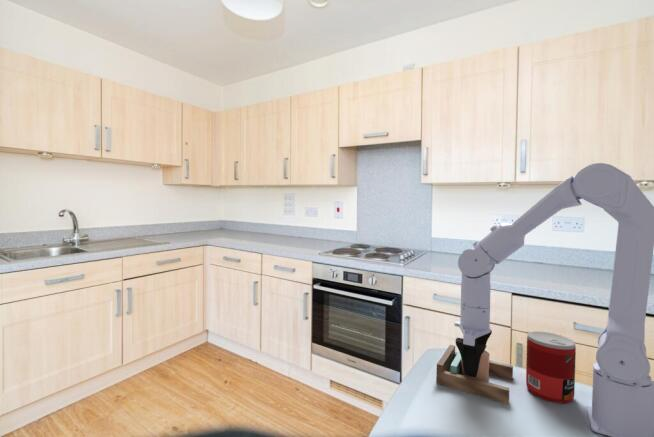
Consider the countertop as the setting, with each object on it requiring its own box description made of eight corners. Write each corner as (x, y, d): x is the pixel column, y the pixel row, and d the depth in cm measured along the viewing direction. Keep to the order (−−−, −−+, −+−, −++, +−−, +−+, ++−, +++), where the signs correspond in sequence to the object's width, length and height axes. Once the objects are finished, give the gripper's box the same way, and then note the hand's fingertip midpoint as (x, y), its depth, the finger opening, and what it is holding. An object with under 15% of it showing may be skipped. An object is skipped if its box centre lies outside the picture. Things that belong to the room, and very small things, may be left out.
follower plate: (464, 367, 75) (464, 351, 75) (456, 384, 67) (456, 366, 67) (458, 365, 75) (459, 350, 75) (450, 382, 68) (450, 365, 68)
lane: (512, 377, 71) (513, 358, 71) (508, 404, 60) (509, 382, 60) (449, 361, 78) (450, 344, 78) (436, 383, 68) (436, 363, 68)
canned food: (574, 409, 59) (576, 349, 59) (523, 394, 64) (525, 338, 64) (574, 391, 65) (575, 337, 65) (527, 379, 70) (529, 328, 70)
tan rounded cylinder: (464, 371, 73) (465, 344, 73) (491, 379, 70) (492, 351, 70) (457, 380, 69) (458, 352, 69) (485, 389, 66) (486, 360, 65)
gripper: (461, 295, 78) (460, 351, 78) (447, 309, 65) (446, 376, 66) (494, 300, 74) (493, 359, 74) (486, 315, 62) (484, 387, 62)
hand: (473, 368), depth 69 cm, fingers open, 7 cm apart
